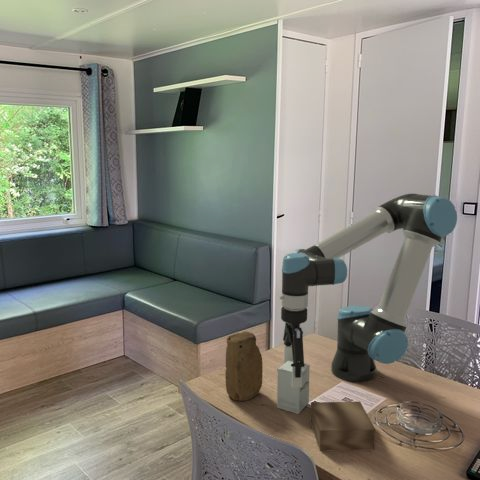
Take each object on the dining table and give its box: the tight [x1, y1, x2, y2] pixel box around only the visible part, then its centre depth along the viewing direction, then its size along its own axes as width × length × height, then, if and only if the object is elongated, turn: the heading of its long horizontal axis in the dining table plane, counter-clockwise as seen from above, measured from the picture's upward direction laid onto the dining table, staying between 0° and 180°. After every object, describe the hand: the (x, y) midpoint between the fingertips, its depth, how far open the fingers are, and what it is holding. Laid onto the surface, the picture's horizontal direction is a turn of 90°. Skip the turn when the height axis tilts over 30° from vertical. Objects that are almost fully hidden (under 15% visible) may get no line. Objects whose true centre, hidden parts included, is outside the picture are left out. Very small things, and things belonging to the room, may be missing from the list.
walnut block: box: [309, 401, 376, 452], centre depth 131 cm, size 14×14×6 cm
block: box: [224, 331, 264, 402], centre depth 151 cm, size 11×8×20 cm
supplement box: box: [276, 360, 311, 415], centre depth 145 cm, size 7×7×13 cm
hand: (292, 376), depth 144 cm, fingers open, 13 cm apart
